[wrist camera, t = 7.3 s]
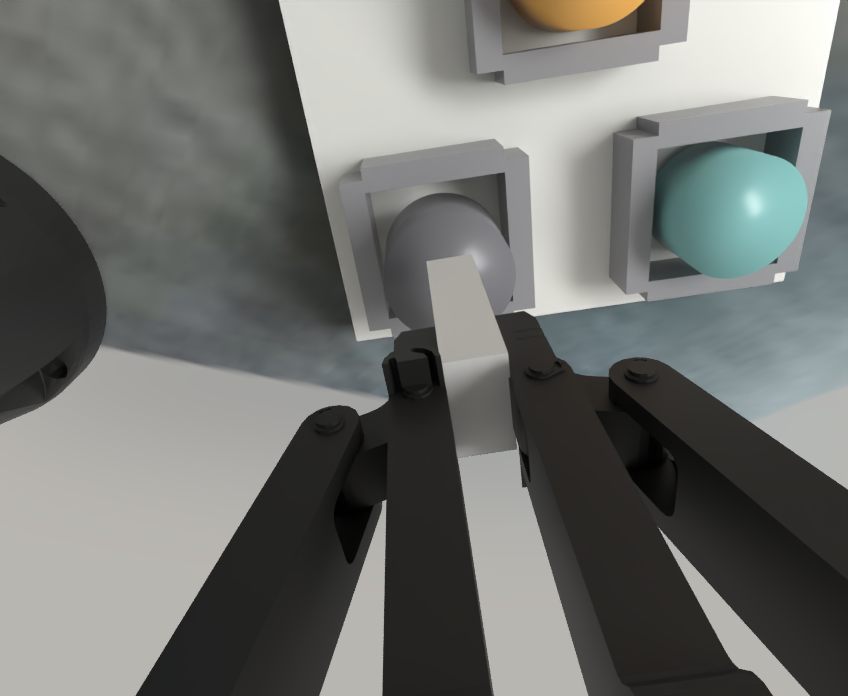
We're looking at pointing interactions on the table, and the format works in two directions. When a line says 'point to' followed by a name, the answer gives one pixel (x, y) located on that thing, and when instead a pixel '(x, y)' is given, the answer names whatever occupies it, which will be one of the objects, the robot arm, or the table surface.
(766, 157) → the teal button
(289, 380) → the table surface
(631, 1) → the orange button
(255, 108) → the table surface
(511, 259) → the charcoal button
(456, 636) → the robot arm
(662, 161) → the panel
